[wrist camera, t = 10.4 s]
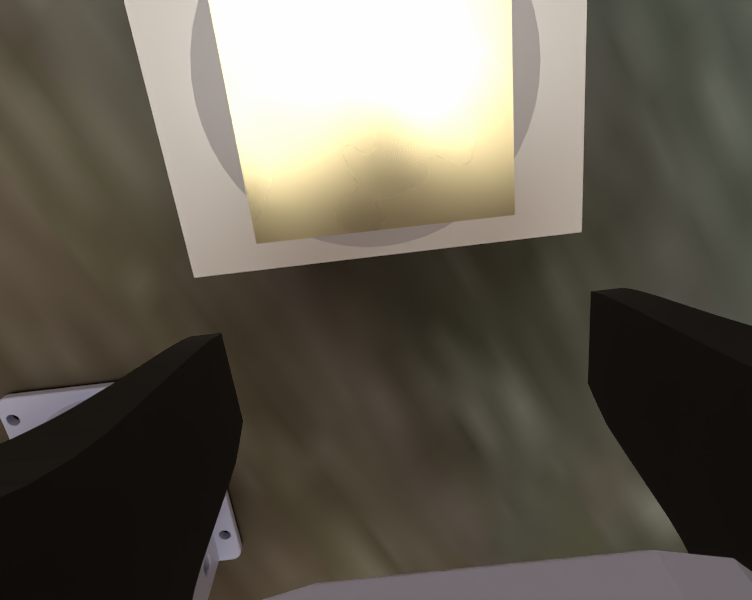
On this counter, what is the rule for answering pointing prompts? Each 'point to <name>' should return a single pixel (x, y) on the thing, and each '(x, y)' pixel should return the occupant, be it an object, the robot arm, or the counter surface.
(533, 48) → the kitchen scale
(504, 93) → the block
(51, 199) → the counter surface
